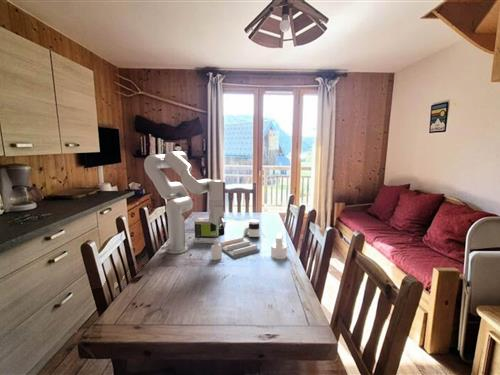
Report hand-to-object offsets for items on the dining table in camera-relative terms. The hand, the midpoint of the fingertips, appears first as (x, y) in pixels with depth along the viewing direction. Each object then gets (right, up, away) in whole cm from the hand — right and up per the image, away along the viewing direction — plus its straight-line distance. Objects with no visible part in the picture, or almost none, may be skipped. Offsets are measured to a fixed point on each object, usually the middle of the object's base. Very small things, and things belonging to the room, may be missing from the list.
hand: (217, 233), depth 141 cm
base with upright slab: (+35, -15, +8) cm, 38 cm away
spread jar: (+19, -9, +39) cm, 44 cm away
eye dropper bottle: (-1, -15, +3) cm, 15 cm away
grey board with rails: (+11, -13, +15) cm, 23 cm away
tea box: (-10, -11, +30) cm, 33 cm away
